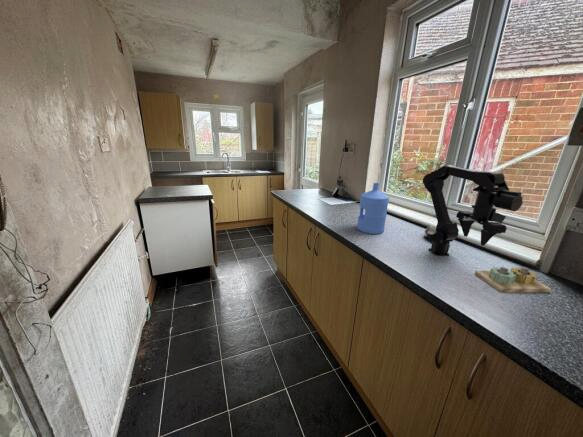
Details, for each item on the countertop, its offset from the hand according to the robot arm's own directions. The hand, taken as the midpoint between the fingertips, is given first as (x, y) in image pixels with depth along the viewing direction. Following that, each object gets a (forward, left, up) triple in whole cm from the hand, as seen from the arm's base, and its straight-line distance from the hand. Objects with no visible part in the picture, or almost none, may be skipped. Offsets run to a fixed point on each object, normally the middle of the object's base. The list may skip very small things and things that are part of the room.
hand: (473, 240), depth 97 cm
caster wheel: (+3, +28, -12) cm, 31 cm away
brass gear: (+12, -12, -10) cm, 20 cm away
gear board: (+8, -12, -12) cm, 19 cm away
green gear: (+4, -12, -10) cm, 16 cm away
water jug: (-27, +43, -12) cm, 52 cm away
